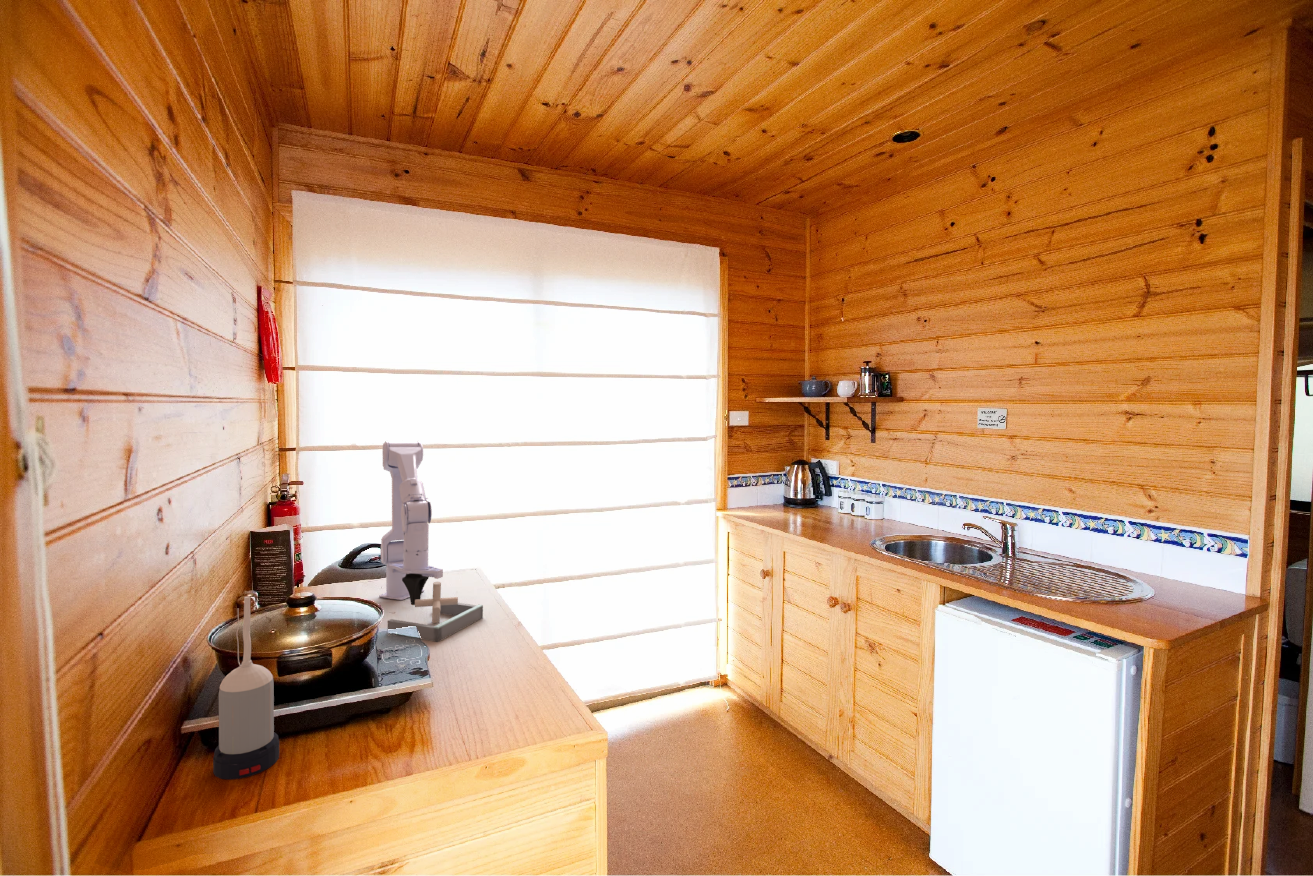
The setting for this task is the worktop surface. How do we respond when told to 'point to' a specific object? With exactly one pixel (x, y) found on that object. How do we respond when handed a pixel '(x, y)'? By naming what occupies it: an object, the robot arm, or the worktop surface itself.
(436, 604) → the pipe connector
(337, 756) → the worktop surface
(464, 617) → the frame
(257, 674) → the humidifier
